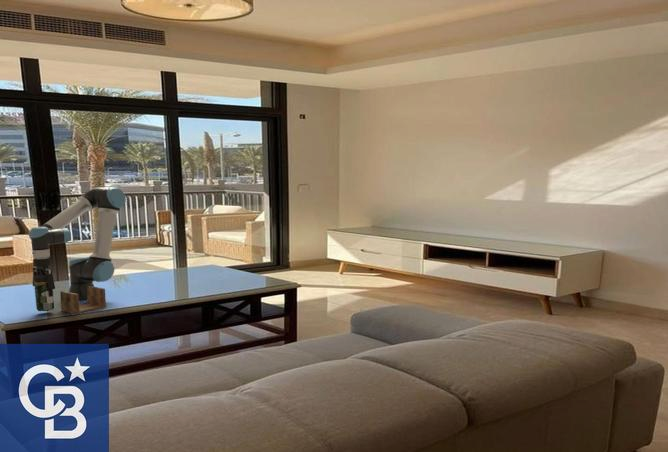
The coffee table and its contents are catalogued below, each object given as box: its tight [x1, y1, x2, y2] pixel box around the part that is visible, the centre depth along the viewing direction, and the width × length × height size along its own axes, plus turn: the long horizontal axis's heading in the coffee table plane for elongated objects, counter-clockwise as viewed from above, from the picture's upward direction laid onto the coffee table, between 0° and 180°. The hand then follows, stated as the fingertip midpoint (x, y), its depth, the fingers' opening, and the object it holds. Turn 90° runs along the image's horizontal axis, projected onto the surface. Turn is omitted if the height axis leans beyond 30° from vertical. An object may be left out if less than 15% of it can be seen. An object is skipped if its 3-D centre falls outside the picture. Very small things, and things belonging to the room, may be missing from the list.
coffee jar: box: [33, 274, 55, 312], centre depth 257 cm, size 10×8×19 cm
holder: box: [59, 286, 107, 315], centre depth 266 cm, size 14×18×10 cm
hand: (44, 301), depth 257 cm, fingers closed on coffee jar, 9 cm apart
